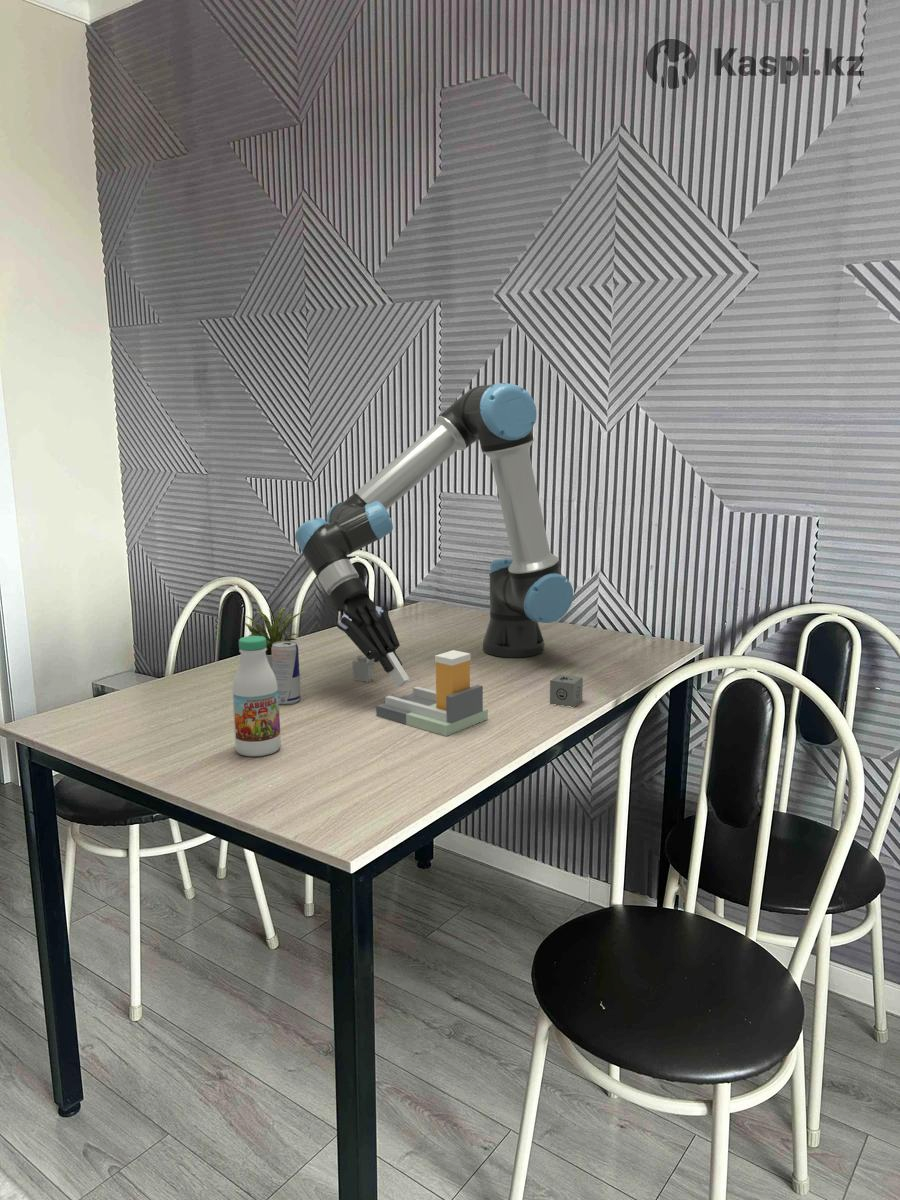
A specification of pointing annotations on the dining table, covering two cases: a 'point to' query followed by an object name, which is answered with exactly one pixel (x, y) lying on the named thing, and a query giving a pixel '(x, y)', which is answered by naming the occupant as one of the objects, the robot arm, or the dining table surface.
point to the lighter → (363, 669)
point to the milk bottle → (255, 701)
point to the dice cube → (566, 690)
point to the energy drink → (286, 671)
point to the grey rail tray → (436, 710)
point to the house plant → (272, 630)
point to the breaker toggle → (451, 675)
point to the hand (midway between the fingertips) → (403, 683)
